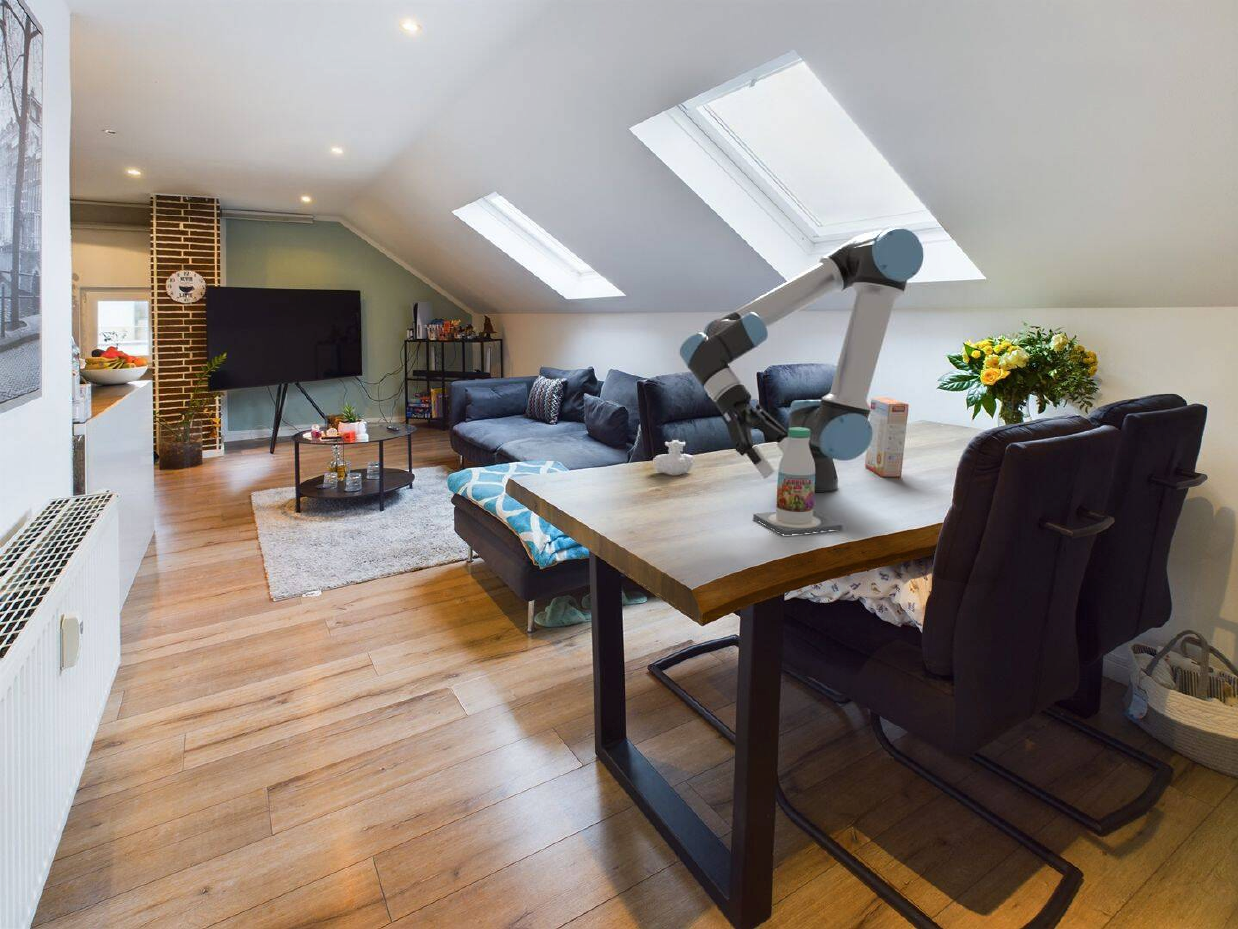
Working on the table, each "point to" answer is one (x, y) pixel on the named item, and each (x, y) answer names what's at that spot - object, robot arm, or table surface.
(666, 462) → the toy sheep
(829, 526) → the slate board
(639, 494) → the table surface
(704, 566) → the table surface
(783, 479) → the milk bottle
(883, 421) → the cracker box
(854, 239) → the robot arm
